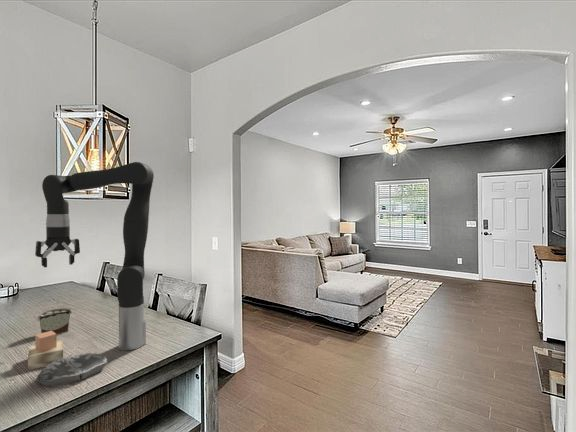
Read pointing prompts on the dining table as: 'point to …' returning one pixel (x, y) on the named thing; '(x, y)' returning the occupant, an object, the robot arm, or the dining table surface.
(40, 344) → the terracotta cube
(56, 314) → the food container
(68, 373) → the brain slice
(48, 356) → the birch block
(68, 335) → the dining table surface
